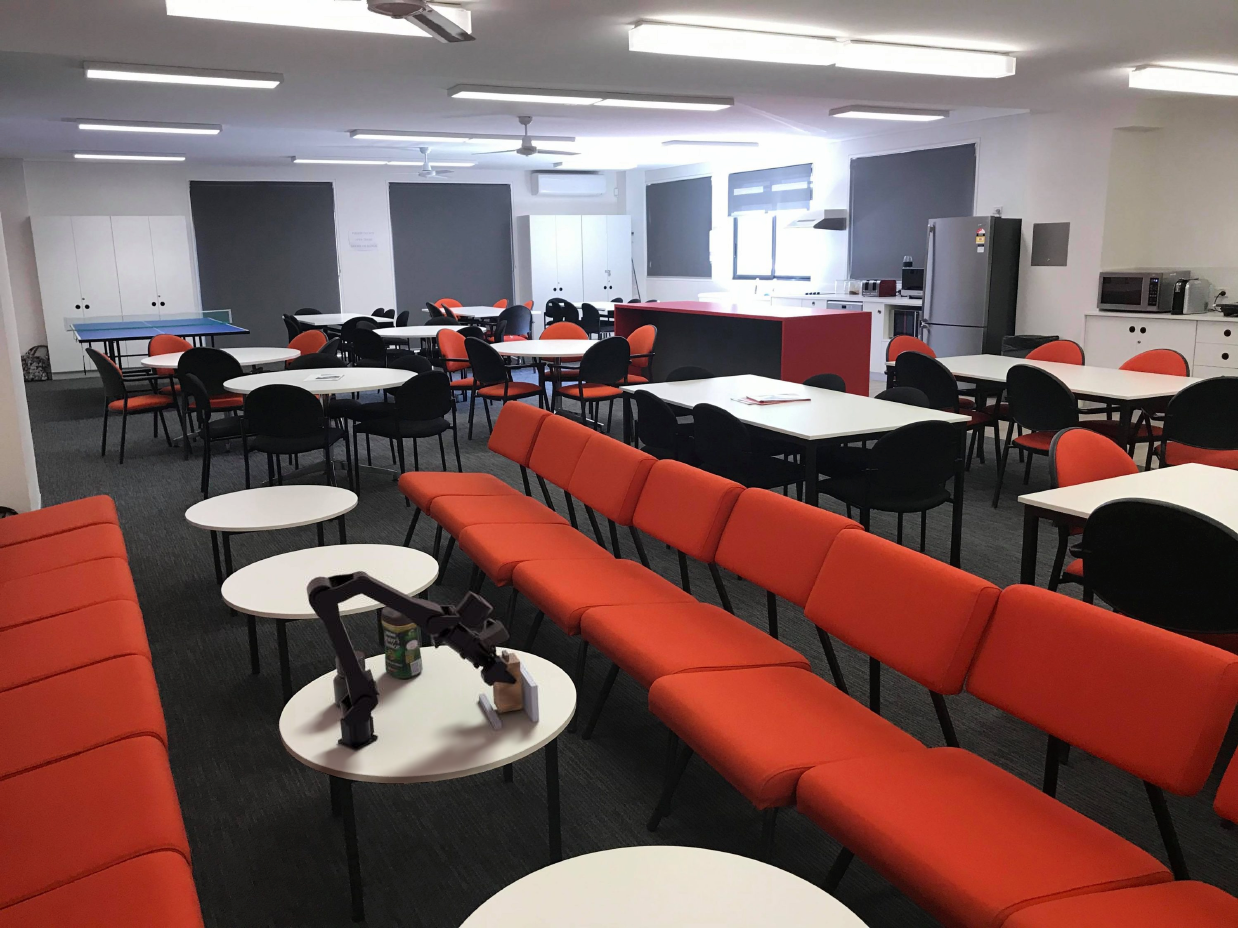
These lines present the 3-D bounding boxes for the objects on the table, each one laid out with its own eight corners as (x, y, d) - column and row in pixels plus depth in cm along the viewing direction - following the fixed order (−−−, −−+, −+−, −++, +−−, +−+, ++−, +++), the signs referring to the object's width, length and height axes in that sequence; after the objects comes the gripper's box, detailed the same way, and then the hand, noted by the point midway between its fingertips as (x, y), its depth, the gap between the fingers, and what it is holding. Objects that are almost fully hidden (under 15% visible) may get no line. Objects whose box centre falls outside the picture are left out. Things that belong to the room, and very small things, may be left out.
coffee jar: (380, 672, 245) (374, 606, 241) (405, 662, 251) (400, 597, 246) (403, 682, 239) (397, 614, 234) (428, 672, 244) (423, 605, 240)
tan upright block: (499, 712, 219) (496, 659, 216) (493, 702, 224) (491, 650, 221) (522, 708, 221) (519, 655, 218) (515, 698, 226) (513, 646, 223)
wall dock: (495, 729, 214) (493, 693, 212) (479, 699, 228) (476, 665, 226) (539, 720, 218) (537, 685, 216) (520, 691, 232) (518, 658, 230)
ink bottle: (381, 697, 231) (377, 652, 228) (356, 713, 223) (352, 667, 221) (351, 690, 235) (347, 646, 233) (326, 705, 228) (321, 660, 225)
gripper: (496, 628, 208) (545, 666, 214) (477, 601, 225) (523, 636, 231) (463, 667, 207) (514, 704, 213) (446, 637, 224) (493, 671, 230)
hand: (512, 677), depth 222 cm, fingers closed on tan upright block, 5 cm apart
